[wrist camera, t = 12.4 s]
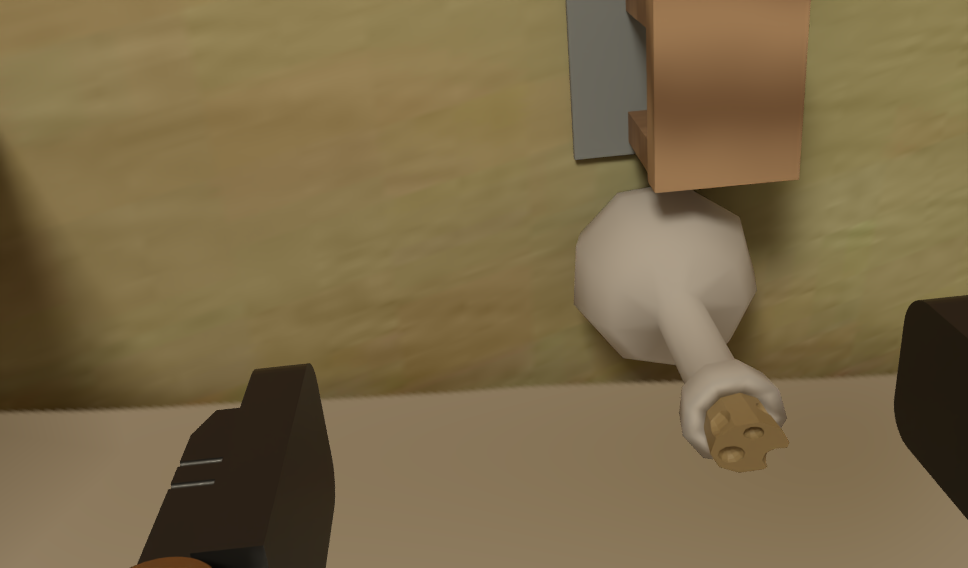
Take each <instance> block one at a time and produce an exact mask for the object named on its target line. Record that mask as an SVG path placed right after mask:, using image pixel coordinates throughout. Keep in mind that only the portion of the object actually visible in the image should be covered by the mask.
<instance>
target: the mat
mask: <svg viewBox="0 0 968 568" xmlns="http://www.w3.org/2000/svg"><path fill="white" fill-rule="evenodd" d="M566 16H567V35H568V54H569V73H570V92H571V111H572V130H573V149H574V159H575V160H578V159H588V158H598V157H608V156H618V155H628V154H636V153H635V151H634V150H633V148H632V147H631V145H630V143H629V137H628V112H630V111H641V110H647V70H646V27H645V26H643V25H642V24H641V23H640V22H639V21H637V20H636V19H635V18H634V17H633V16H632V15H630V14H629V13H628V12H627V11H626V0H566Z"/></svg>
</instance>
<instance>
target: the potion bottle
mask: <svg viewBox="0 0 968 568" xmlns="http://www.w3.org/2000/svg"><path fill="white" fill-rule="evenodd" d="M756 291H757V289H756V282H755V274H754V270H753V266H752V262H751V258H750V255H749V251H748V247H747V243H746V239H745V236H744V232H743V228H742V224H741V220H740V217H739V216H737V215H735V214H734V213H732V212H730V211H728V210H726V209H725V208H723V207H721V206H719V205H718V204H716V203H714V202H712V201H710V200H709V199H707V198H705V197H703V196H702V195H700V194H698V193H696V192H695V191H693V190H683V191H673V192H662V193H655V192H654V191H653V189H652V188H651V187H647V188H641V189H636V190H630V191H625V192H619V193H617V194H616V195H615V196H614V197H613V198H612V200H611V201H610V202H609V203H608V204H607V205H606V206H605V207H604V208H603V209H602V210H601V211H600V212H599V214H598V215H597V216H596V217H595V218H594V219H593V220H592V221H591V222H590V223H589V224H588V225H587V226H586V228H585V229H584V230H583V231H582V232H581V233H580V235H579V238H578V242H577V245H576V262H575V287H574V305H575V306H576V307H577V308H578V309H579V311H580V312H581V313H582V314H583V315H584V316H585V317H586V318H587V319H588V320H589V321H590V323H591V324H592V325H593V326H594V327H595V328H596V329H597V330H598V331H599V332H600V334H601V335H602V336H603V337H604V338H605V339H606V340H607V341H608V342H609V343H610V345H611V346H612V347H613V348H614V349H615V350H616V351H617V352H618V353H619V354H620V355H621V356H622V357H623V358H626V359H634V360H641V361H649V362H656V363H664V364H671V365H676V366H677V369H678V371H679V373H680V375H681V378H682V380H683V382H684V385H683V386H682V392H681V402H680V412H679V414H680V420H681V427H682V433H683V436H684V437H685V438H686V440H687V441H688V442H689V443H690V444H691V445H692V446H693V447H694V448H695V449H696V450H697V452H698V453H699V454H700V455H701V456H702V457H703V458H708V459H714V460H715V462H716V463H717V464H718V466H719V467H721V468H725V469H729V470H732V471H735V472H747V471H754V470H761V469H764V468H766V467H767V464H766V454H767V452H769V451H771V450H773V449H775V448H787V447H788V444H789V441H788V439H787V437H786V436H785V434H784V432H783V431H782V429H781V427H782V426H783V424H784V422H785V421H786V419H787V417H786V413H785V410H784V406H783V402H782V398H781V395H780V391H779V389H778V388H777V387H776V386H775V385H774V384H773V383H772V382H771V381H770V380H769V379H768V378H767V377H766V376H765V375H764V374H763V373H762V372H760V371H758V370H756V369H754V368H752V367H750V366H749V365H747V364H745V363H743V362H741V361H739V360H737V359H736V360H735V359H734V357H733V355H732V354H731V352H730V350H729V348H728V346H727V345H726V344H727V343H728V342H729V341H730V339H731V338H732V336H733V334H734V332H735V330H736V328H737V326H738V324H739V323H740V321H741V319H742V317H743V315H744V313H745V311H746V310H747V308H748V306H749V304H750V302H751V300H752V298H753V296H754V295H755V293H756Z"/></svg>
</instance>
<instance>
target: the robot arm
mask: <svg viewBox="0 0 968 568" xmlns="http://www.w3.org/2000/svg"><path fill="white" fill-rule="evenodd" d="M894 412H895V419H896V424H897V427H898V430H899V433H900V436H901V438H902V440H903V442H904V443H905V445H906V446H907V447H908V449H909V450H910V451H911V452H912V454H913V455H914V456H915V457H916V458H917V460H918V461H919V462H920V463H921V464H922V466H923V467H924V468H925V469H926V470H927V472H928V473H929V474H930V475H931V476H932V478H933V479H934V480H935V481H936V482H937V484H938V485H939V486H940V487H941V488H942V490H943V491H944V492H945V493H946V494H947V496H948V497H949V498H950V499H951V500H952V501H953V502H954V504H955V505H956V506H957V507H958V509H959V510H960V511H961V512H962V513H963V515H964V516H965V517H966V518H967V519H968V295H964V296H954V297H945V298H936V299H926V300H917V301H914V302H913V303H912V304H911V305H910V306H909V308H908V310H907V312H906V315H905V320H904V327H903V335H902V343H901V350H900V358H899V366H898V374H897V382H896V389H895V397H894ZM334 480H335V479H334V468H333V462H332V456H331V450H330V445H329V440H328V435H327V430H326V425H325V420H324V415H323V410H322V404H321V399H320V394H319V389H318V384H317V379H316V375H315V372H314V369H313V367H312V365H311V364H310V363H308V364H299V365H289V366H280V367H270V368H261V369H255V370H254V371H253V372H252V375H251V378H250V380H249V383H248V386H247V389H246V392H245V395H244V398H243V401H242V404H241V406H240V408H233V409H224V410H217V411H215V412H214V413H213V414H212V415H211V416H210V417H209V418H208V419H207V420H206V421H205V422H204V423H203V424H202V425H201V426H200V427H199V428H198V429H197V430H196V431H195V432H194V433H193V434H192V435H191V436H190V439H189V441H188V444H187V446H186V448H185V451H184V453H183V456H182V458H181V461H180V467H178V468H177V470H176V472H175V475H174V477H173V480H172V482H171V489H169V490H168V492H167V494H166V496H165V499H164V501H163V504H162V506H161V508H160V511H159V513H158V516H157V518H156V520H155V523H154V525H153V528H152V530H151V533H150V535H149V537H148V540H147V542H146V544H145V547H144V549H143V552H142V554H141V556H140V559H139V561H138V564H137V565H135V566H133V567H131V568H326V561H327V554H328V547H329V540H330V533H331V526H332V520H333V513H334V505H335V481H334Z"/></svg>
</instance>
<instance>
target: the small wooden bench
mask: <svg viewBox="0 0 968 568" xmlns="http://www.w3.org/2000/svg"><path fill="white" fill-rule="evenodd" d="M810 2H811V0H626V11H627V12H628V13H629V14H630V15H632V16H633V17H634V18H635V19H636V20H637V21H639V22H640V23H641V24H642V25H643V26H645V27H646V70H647V110H641V111H630V112H628V137H629V143H630V145H631V147H632V148H633V150H634V151H635V153H636V155H637V156H638V158H639V159H640V161H641V162H642V164H643V166H644V167H645V169H646V170H647V172H648V183H649V184H650V186H651V188H652V189H653V191H654V192H655V193H662V192H673V191H683V190H694V189H704V188H714V187H725V186H735V185H746V184H756V183H766V182H777V181H787V180H798V179H799V172H800V157H801V141H802V126H803V110H804V95H805V79H806V64H807V48H808V33H809V17H810Z"/></svg>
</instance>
